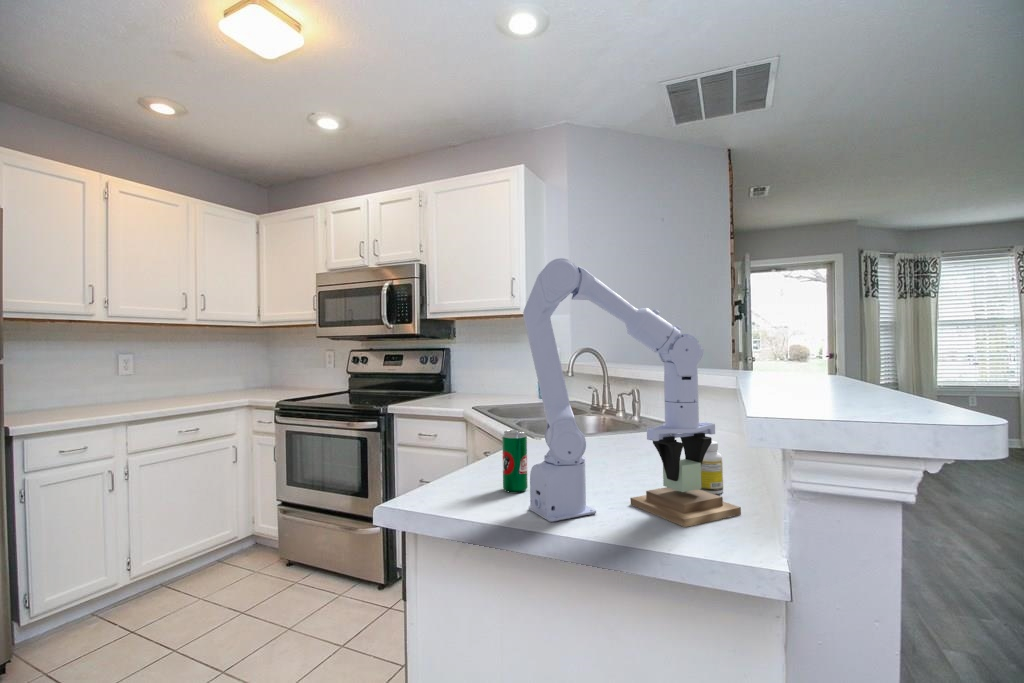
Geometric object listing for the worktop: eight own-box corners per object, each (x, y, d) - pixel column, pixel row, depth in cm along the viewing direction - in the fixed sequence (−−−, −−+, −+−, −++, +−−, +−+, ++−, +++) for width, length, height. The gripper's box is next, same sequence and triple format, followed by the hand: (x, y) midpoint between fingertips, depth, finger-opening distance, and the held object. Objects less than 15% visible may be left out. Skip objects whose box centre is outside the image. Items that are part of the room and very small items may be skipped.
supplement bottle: (698, 485, 98) (696, 438, 98) (726, 489, 95) (724, 441, 95) (691, 492, 94) (690, 442, 94) (720, 496, 91) (719, 445, 91)
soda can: (525, 494, 94) (524, 433, 94) (500, 493, 95) (499, 433, 95) (529, 487, 99) (528, 429, 99) (505, 486, 100) (505, 429, 100)
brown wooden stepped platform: (684, 527, 75) (684, 510, 75) (630, 504, 86) (630, 489, 86) (740, 514, 80) (740, 498, 80) (682, 494, 92) (682, 480, 92)
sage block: (682, 492, 81) (681, 465, 81) (663, 485, 85) (662, 460, 85) (701, 488, 83) (700, 462, 83) (681, 482, 87) (681, 458, 87)
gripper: (693, 397, 91) (695, 468, 90) (634, 401, 84) (635, 477, 84) (724, 400, 84) (726, 476, 84) (662, 405, 78) (664, 487, 78)
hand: (683, 477), depth 83 cm, fingers closed on sage block, 4 cm apart
